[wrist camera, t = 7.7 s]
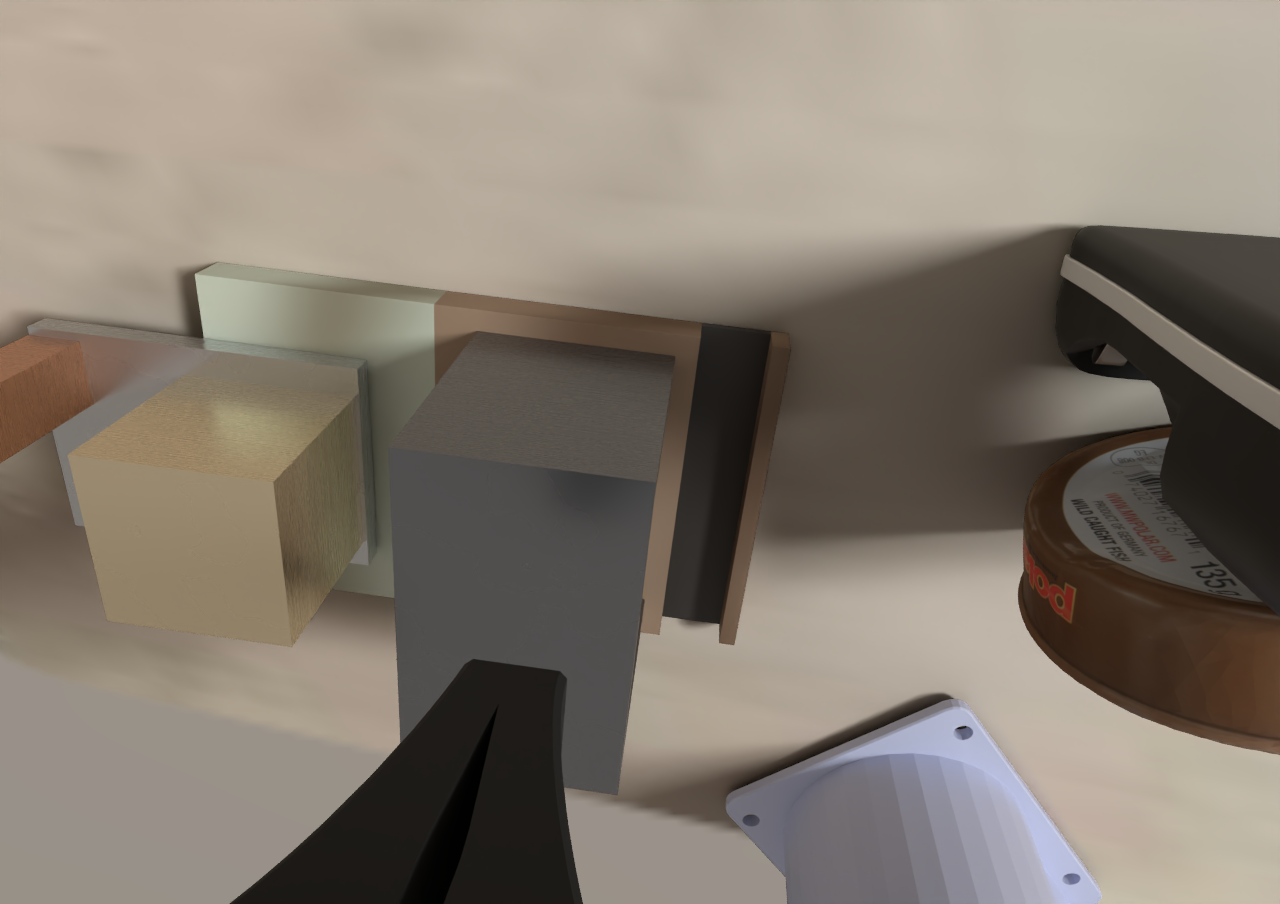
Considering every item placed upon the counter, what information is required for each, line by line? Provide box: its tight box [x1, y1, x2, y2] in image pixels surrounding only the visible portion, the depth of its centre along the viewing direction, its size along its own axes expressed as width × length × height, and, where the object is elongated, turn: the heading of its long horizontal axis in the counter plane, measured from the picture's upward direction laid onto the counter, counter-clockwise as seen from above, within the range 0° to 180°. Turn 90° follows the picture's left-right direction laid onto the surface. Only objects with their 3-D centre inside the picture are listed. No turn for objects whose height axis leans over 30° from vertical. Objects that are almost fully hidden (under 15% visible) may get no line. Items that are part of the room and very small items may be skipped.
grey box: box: [388, 331, 675, 795], centre depth 19 cm, size 4×7×6 cm, turn 174°
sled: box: [0, 318, 377, 647], centre depth 18 cm, size 8×5×8 cm
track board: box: [195, 262, 791, 645], centre depth 22 cm, size 14×8×1 cm, turn 84°
